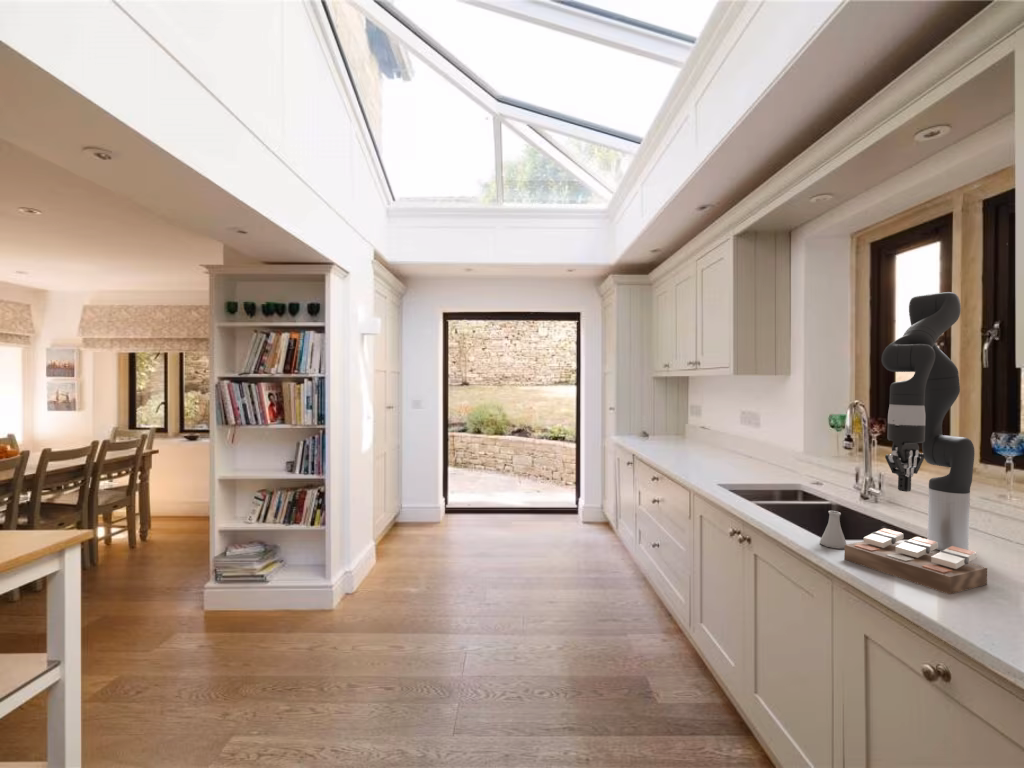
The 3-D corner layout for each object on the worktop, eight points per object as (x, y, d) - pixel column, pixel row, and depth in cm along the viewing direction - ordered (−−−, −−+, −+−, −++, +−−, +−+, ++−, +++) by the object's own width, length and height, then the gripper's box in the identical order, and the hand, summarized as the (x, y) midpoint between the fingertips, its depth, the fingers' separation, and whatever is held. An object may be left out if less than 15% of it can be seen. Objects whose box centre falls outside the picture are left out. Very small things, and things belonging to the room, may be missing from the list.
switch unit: (880, 552, 144) (881, 537, 144) (986, 584, 122) (987, 566, 122) (844, 559, 138) (844, 543, 138) (949, 594, 116) (950, 575, 116)
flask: (852, 550, 145) (853, 516, 145) (825, 548, 147) (826, 514, 147) (841, 542, 153) (842, 509, 152) (815, 540, 154) (816, 508, 154)
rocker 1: (883, 533, 142) (883, 527, 142) (904, 539, 138) (903, 532, 137) (863, 542, 139) (862, 536, 139) (883, 548, 134) (883, 542, 134)
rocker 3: (951, 552, 128) (951, 545, 128) (977, 558, 123) (976, 551, 123) (931, 562, 124) (930, 555, 124) (956, 570, 119) (956, 562, 119)
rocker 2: (915, 542, 135) (915, 535, 135) (938, 548, 130) (938, 541, 130) (895, 552, 131) (894, 545, 131) (918, 558, 127) (917, 551, 127)
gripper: (905, 421, 134) (903, 486, 134) (874, 422, 129) (872, 489, 129) (938, 423, 127) (936, 492, 128) (907, 424, 122) (905, 496, 122)
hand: (904, 490), depth 128 cm, fingers closed
